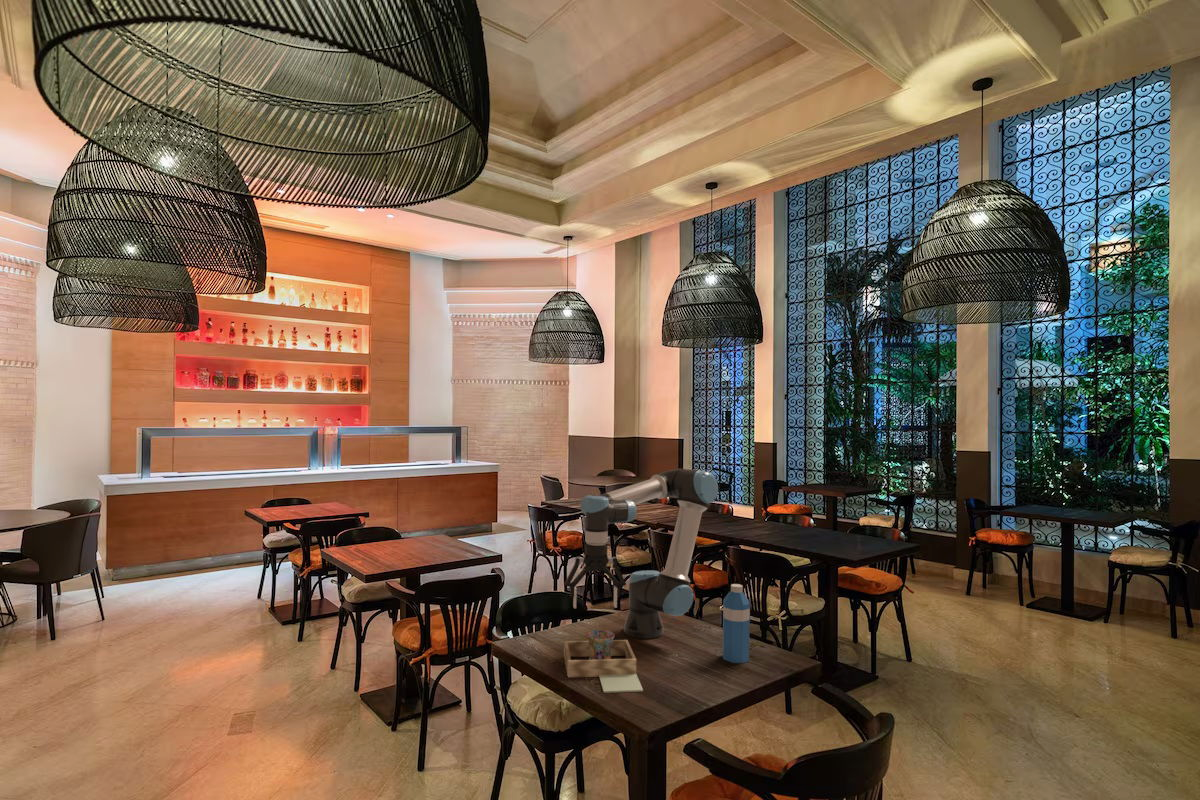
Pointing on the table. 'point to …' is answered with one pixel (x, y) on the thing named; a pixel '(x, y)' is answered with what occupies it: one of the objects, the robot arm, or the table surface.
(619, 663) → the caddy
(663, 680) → the table surface
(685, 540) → the robot arm
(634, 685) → the mat
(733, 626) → the water bottle
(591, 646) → the mug
